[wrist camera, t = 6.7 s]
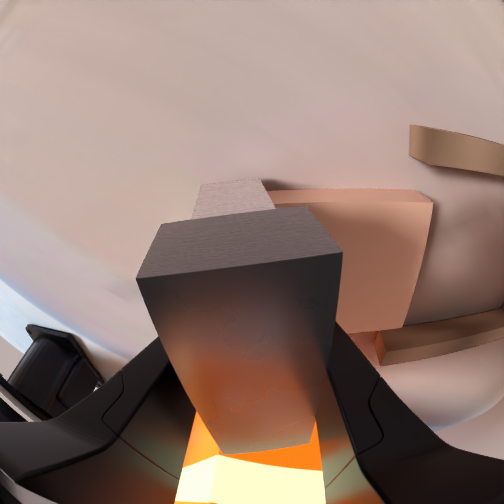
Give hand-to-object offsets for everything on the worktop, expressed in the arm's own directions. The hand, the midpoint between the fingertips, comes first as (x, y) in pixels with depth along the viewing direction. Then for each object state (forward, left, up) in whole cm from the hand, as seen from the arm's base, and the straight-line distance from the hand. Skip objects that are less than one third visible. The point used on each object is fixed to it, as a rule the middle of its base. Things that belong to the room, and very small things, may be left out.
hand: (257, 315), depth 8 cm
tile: (+3, 0, -4) cm, 5 cm away
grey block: (-1, 0, -3) cm, 3 cm away
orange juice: (-1, -12, -4) cm, 13 cm away
